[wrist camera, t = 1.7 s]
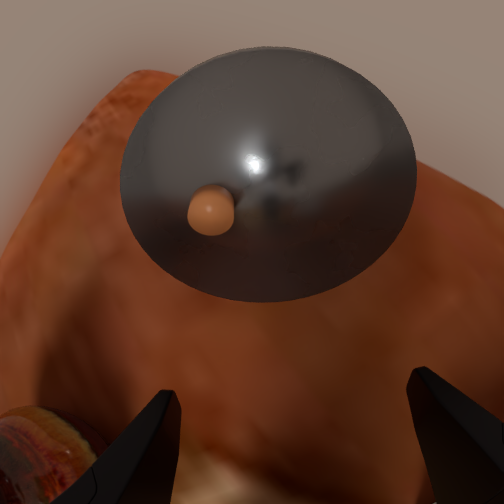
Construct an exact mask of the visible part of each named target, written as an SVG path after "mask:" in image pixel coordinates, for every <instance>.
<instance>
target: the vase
mask: <svg viewBox="0 0 504 504" xmlns="http://www.w3.org/2000/svg"><path fill="white" fill-rule="evenodd" d="M107 448H108V446H107V444H106V443H105V441H104V440H103V439H102V438H101V437H100V435H99V434H98V433H97V432H96V431H95V430H94V429H93V428H91V427H90V426H89V425H88V424H86V423H85V422H84V421H82V420H81V419H79V418H77V417H75V416H73V415H71V414H69V413H66V412H64V411H61V410H58V409H54V408H50V407H45V406H23V407H18V408H14V409H11V410H9V411H7V412H5V413H3V414H2V415H0V504H49V503H50V502H51V501H53V500H54V499H55V498H56V497H58V496H59V495H60V494H62V493H63V492H64V491H65V490H66V489H67V488H69V487H70V486H71V485H72V484H73V483H74V482H75V481H76V480H77V479H78V478H79V477H80V476H81V475H82V474H83V473H84V472H85V471H86V470H87V469H88V468H89V467H90V466H92V464H93V463H94V462H95V461H96V460H97V459H98V458H99V456H100V455H101V454H102V453H103V452H104V451H105V450H106V449H107Z"/></svg>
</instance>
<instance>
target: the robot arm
mask: <svg viewBox="0 0 504 504" xmlns="http://www.w3.org/2000/svg"><path fill="white" fill-rule="evenodd" d="M406 392H407V396H408V401H409V405H410V409H411V414H412V419H413V423H414V428H415V432H416V435H417V438H418V441H419V445H420V448H421V451H422V454H423V457H424V460H425V464H426V467H427V471H428V474H429V477H430V481H431V485H432V488H433V492H434V496H435V499H436V503H437V504H504V423H503V422H502V421H501V420H499V419H498V418H496V417H495V416H494V415H492V414H491V413H490V412H488V411H487V410H485V409H484V408H483V407H481V406H480V405H479V404H477V403H476V402H474V401H473V400H472V399H470V398H469V397H468V396H466V395H465V394H463V393H462V392H461V391H459V390H458V389H457V388H455V387H454V386H452V385H451V384H450V383H448V382H447V381H445V380H444V379H443V378H441V377H440V376H439V375H437V374H436V373H434V372H433V371H432V370H430V369H429V368H427V367H425V366H422V367H418V368H415V369H413V370H412V373H411V375H410V378H409V381H408V383H407V387H406ZM180 427H181V406H180V403H179V401H178V398H177V395H176V393H175V391H173V390H160V391H159V392H158V393H157V394H156V395H155V396H154V398H153V399H152V400H151V401H150V402H149V403H148V404H147V405H146V406H145V407H144V409H143V410H142V411H141V412H140V413H139V414H138V415H137V416H136V417H135V418H134V420H133V421H132V422H131V423H130V424H129V425H128V426H127V427H126V428H125V429H124V431H123V432H122V433H121V434H120V435H119V436H118V437H117V438H116V439H115V440H114V441H113V442H112V444H111V445H110V446H109V447H108V448H107V449H106V450H105V451H104V452H103V453H102V454H101V455H100V456H99V458H98V459H97V460H96V461H95V462H94V463H93V464H92V466H90V467H89V468H88V469H87V470H86V471H85V472H84V473H83V474H82V475H81V476H80V477H79V478H78V479H77V480H76V481H75V482H74V483H73V484H72V485H71V486H70V487H69V488H67V489H66V490H65V491H64V492H63V493H62V494H60V495H59V496H58V497H56V498H55V499H54V500H53V501H51V502H50V503H49V504H170V502H171V496H172V490H173V484H174V479H175V473H176V468H177V462H178V456H179V443H180Z"/></svg>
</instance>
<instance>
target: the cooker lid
mask: <svg viewBox="0 0 504 504" xmlns="http://www.w3.org/2000/svg"><path fill="white" fill-rule="evenodd" d="M416 181H417V166H416V156H415V151H414V147H413V143H412V140H411V136H410V134H409V132H408V130H407V127H406V125H405V123H404V121H403V119H402V117H401V116H400V114H399V113H398V111H397V110H396V108H395V107H394V105H393V104H392V103H391V102H390V101H389V100H388V98H387V97H386V96H385V95H384V94H383V93H382V92H381V91H380V90H379V89H378V88H377V87H376V86H375V85H373V84H372V83H371V82H370V81H368V80H367V79H365V78H364V77H363V76H362V75H360V74H358V73H357V72H355V71H353V70H352V69H350V68H348V67H346V66H344V65H342V64H340V63H339V62H337V61H335V60H333V59H331V58H328V57H325V56H323V55H319V54H317V53H314V52H311V51H306V50H300V49H295V48H289V47H254V48H247V49H240V50H236V51H232V52H229V53H225V54H222V55H218V56H216V57H213V58H211V59H209V60H207V61H205V62H202V63H200V64H198V65H196V66H194V67H193V68H191V69H190V70H188V71H187V72H185V73H184V74H182V75H181V76H179V77H178V78H176V79H175V80H174V81H173V82H172V83H171V84H170V85H169V86H168V87H166V88H165V89H164V90H163V91H162V92H161V93H160V94H159V95H158V96H157V97H156V98H155V99H154V100H153V102H152V103H151V104H150V105H149V107H148V108H147V109H146V111H145V112H144V113H143V114H142V116H141V117H140V118H139V120H138V122H137V124H136V126H135V128H134V129H133V131H132V133H131V135H130V137H129V140H128V143H127V146H126V149H125V152H124V155H123V160H122V166H121V172H120V193H121V199H122V206H123V209H124V213H125V216H126V219H127V222H128V224H129V226H130V228H131V230H132V232H133V234H134V236H135V238H136V239H137V241H138V242H139V244H140V245H141V247H142V248H143V250H144V251H145V252H146V253H147V254H148V255H149V256H150V258H151V259H152V260H153V261H154V262H155V263H157V264H158V265H159V266H160V267H161V268H162V269H163V270H165V271H166V272H167V273H169V274H170V275H172V276H173V277H174V278H176V279H178V280H179V281H181V282H183V283H185V284H187V285H188V286H190V287H193V288H195V289H197V290H200V291H202V292H205V293H208V294H211V295H214V296H217V297H222V298H226V299H230V300H237V301H244V302H261V303H262V302H281V301H289V300H295V299H300V298H305V297H309V296H312V295H315V294H319V293H322V292H324V291H327V290H329V289H332V288H335V287H337V286H339V285H341V284H343V283H345V282H347V281H348V280H350V279H352V278H353V277H355V276H357V275H358V274H360V273H361V272H363V271H364V270H365V269H366V268H368V267H369V266H370V265H372V264H373V263H374V262H375V261H376V260H377V259H378V258H379V257H380V256H381V255H382V254H383V253H384V252H385V251H386V250H387V249H388V248H389V246H390V245H391V244H392V243H393V242H394V240H395V239H396V237H397V236H398V234H399V233H400V231H401V229H402V228H403V226H404V224H405V222H406V220H407V218H408V215H409V212H410V210H411V207H412V204H413V200H414V195H415V190H416Z"/></svg>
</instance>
